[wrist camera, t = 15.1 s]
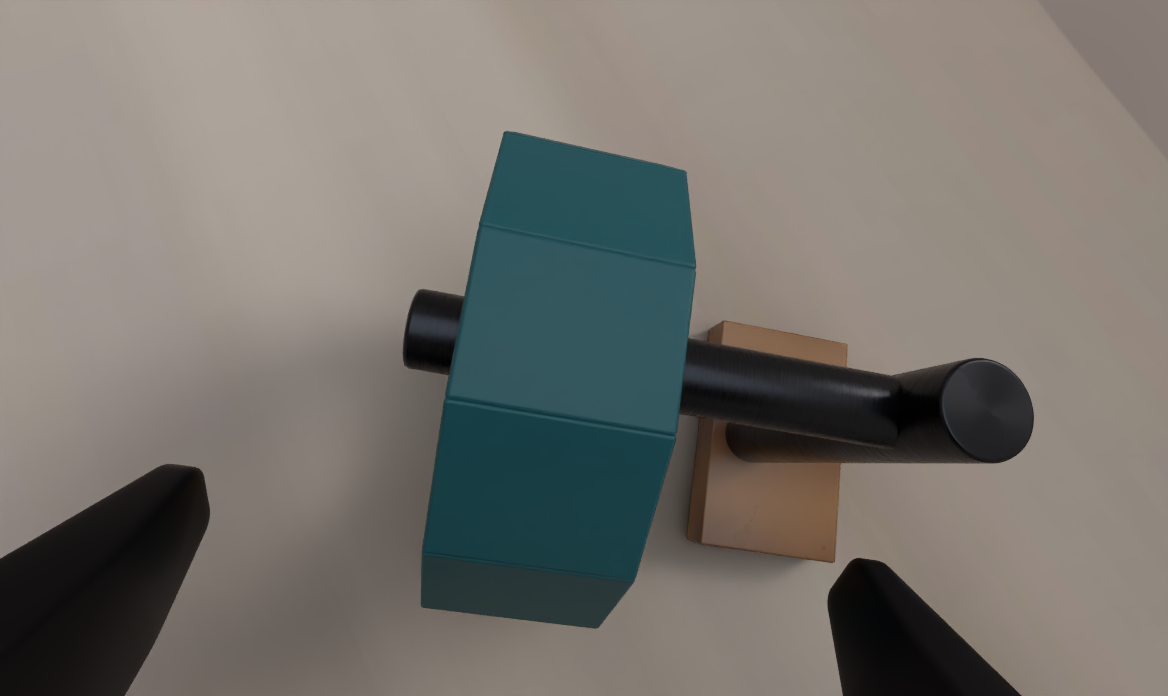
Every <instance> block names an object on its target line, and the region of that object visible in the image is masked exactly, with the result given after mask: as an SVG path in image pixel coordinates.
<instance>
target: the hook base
mask: <svg viewBox="0 0 1168 696" xmlns="http://www.w3.org/2000/svg"><path fill="white" fill-rule="evenodd" d="M708 342H712V343H718V344H723V345H728V346H734V347H739V348H745V349H750V350H755V351H761V352H766V353H772V354H777V355H782V356H788V357H793V358H799V359H804V360H809V361H815V362H820V363H826V364H831V365H836V366H842V367H846V363H847V344H845V343H839V342H834V341H829V340H824V339H818V338H813V337H808V336H803V335H797V334H792V333H787V332H782V331H776V330H771V329H766V328H761V327H755V326H750V325H745V324H740V323H734V322H729V321H722V322H721V323H719V324H717V325H716V326H714V327H712V328H711V329H710V330H709V338H708ZM726 425H727V422H723V421H717V420H711V419H706V418H700V421H699V430H698V439H697V449H696V458H695V467H694V476H693V485H692V495H691V504H690V513H689V522H688V531H687V539H689V540H691V541H694V542H697V543H699V544H703V545H710V546H717V547H724V548H731V549H738V550H745V551H752V552H759V553H766V554H773V555H780V556H787V557H794V558H801V559H808V560H815V561H822V562H829V563H834V562H835V550H836V533H837V516H838V499H839V482H840V465H841V463H750V462H746V461H743V460H741V459H739V458H738V457H736V456H735V455H734V454H733V452H732V451H731V450H730V448H729V446H728V444H727V441H726V435H725V430H726Z"/></svg>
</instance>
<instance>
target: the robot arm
mask: <svg viewBox="0 0 1168 696" xmlns="http://www.w3.org/2000/svg"><path fill="white" fill-rule="evenodd" d="M209 518H210V507H209V501H208V496H207V490H206V485H205V479H204V475H203V472H202V471H201V470H200V469H199V468H196V467H191V466H184V465H176V464H165V465H162V466H159V467H157V468H156V469H154V470H152V471H150V472H149V473H147V474H145V475H144V476H142V477H140V478H138V479H137V480H135V481H133V482H132V483H130V484H128V485H126V486H125V487H123V488H121V489H119V490H118V491H116V492H114V493H113V494H111V495H109V496H107V497H106V498H104V499H102V500H101V501H99V502H97V503H95V504H94V505H92V506H90V507H88V508H87V509H85V510H83V511H82V512H80V513H78V514H76V515H75V516H73V517H71V518H70V519H68V520H66V521H64V522H63V523H61V524H59V525H57V526H56V527H54V528H52V529H51V530H49V531H47V532H45V533H44V534H42V535H40V536H39V537H37V538H35V539H33V540H32V541H30V542H28V543H27V544H25V545H23V546H21V547H20V548H18V549H16V550H14V551H13V552H11V553H9V554H8V555H6V556H4V557H2V558H1V559H0V696H125V694H126V692H127V691H128V689H129V687H130V685H131V684H132V682H133V680H134V679H135V677H136V675H137V673H138V672H139V670H140V668H141V667H142V665H143V663H144V661H145V659H146V658H147V656H148V654H149V652H150V650H151V649H152V647H153V645H154V643H155V641H156V639H157V637H158V635H159V633H160V631H161V628H162V626H163V624H164V622H165V620H166V618H167V615H168V613H169V611H170V609H171V607H172V604H173V602H174V600H175V598H176V595H177V593H178V591H179V589H180V587H181V584H182V582H183V580H184V578H185V576H186V573H187V571H188V569H189V567H190V564H191V562H192V560H193V558H194V556H195V553H196V551H197V549H198V547H199V544H200V542H201V540H202V538H203V536H204V533H205V531H206V529H207V526H208V523H209ZM828 612H829V618H830V624H831V630H832V635H833V641H834V647H835V652H836V658H837V664H838V670H839V675H840V681H841V687H842V692H843V696H1021V695H1020V694H1019V693H1018V692H1017V691H1016V690H1015V689H1014V688H1013V687H1012V686H1011V685H1010V684H1009V683H1008V682H1007V681H1006V680H1005V679H1004V678H1003V677H1002V676H1001V675H1000V674H999V673H998V672H997V671H996V670H995V669H993V668H992V667H991V666H990V665H989V664H988V663H987V662H986V661H985V660H984V659H983V658H982V657H981V656H980V655H979V654H978V653H977V652H976V651H975V650H974V649H973V648H972V647H971V646H970V645H969V644H968V643H967V642H966V641H965V640H964V639H963V638H962V637H961V636H959V635H958V634H957V633H956V632H955V631H954V630H953V629H952V628H951V627H950V626H949V625H948V624H947V623H946V622H945V621H944V620H943V619H942V618H941V617H940V616H939V615H938V614H937V613H936V612H935V611H934V610H933V609H932V608H931V607H930V606H929V605H928V604H927V603H925V602H924V601H923V600H922V599H921V598H920V597H919V596H918V595H917V594H916V593H915V592H914V591H913V590H912V589H911V588H910V587H909V586H908V585H907V584H906V583H905V582H904V581H903V580H902V579H901V578H900V577H899V576H898V575H897V574H896V573H895V572H894V571H893V570H891V569H890V568H889V567H888V566H887V565H886V564H884V563H883V562H880V561H876V560H869V559H862V558H856V559H853V560H852V561H850V563H849V564H848V565H847V567H846V568H845V569H844V571H843V572H842V574H841V575H840V576H839V578H838V579H837V581H836V582H835V583H834V585H833V586H832V588H831V589H830V591H829V594H828Z"/></svg>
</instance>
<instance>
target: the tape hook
mask: <svg viewBox="0 0 1168 696" xmlns="http://www.w3.org/2000/svg"><path fill="white" fill-rule="evenodd" d="M463 302H464V296H459V295H454V294H448V293H443V292H437V291H432V290H427V289H421V290H418V291H417V293H416V294H415V296H414V298H413V301H412V303H411V306H410V310H409V314H408V318H407V322H406V328H405V334H404V342H403V361H404V365H405V366H406V367H408V368H410V369H416V370H421V371H427V372H433V373H439V374H445V375H449V372H450V367H451V362H452V357H453V352H454V347H455V342H456V337H457V332H458V327H459V322H460V317H461V312H462V307H463ZM679 414H682V415H688V416H694V417H700V418H706V419H711V420H717V421H723V422H727V425H726V430H725V435H726V441H727V444H728V446H729V448H730V450H731V451H732V452H733V454H734V455H735V456H736V457H738V458H739V459H741V460H743V461H746V462H750V463H1000V462H1004V461H1007V460H1009V459H1011V458H1013V457H1014V456H1016V455H1017V454H1019V453H1020V452H1021V451H1022V450H1023V449H1024V447H1025V446H1026V444H1027V443H1028V441H1029V439H1030V437H1031V433H1032V430H1033V423H1034V414H1033V407H1032V402H1031V399H1030V396H1029V394H1028V392H1027V390H1026V388H1025V386H1024V385H1023V383H1022V382H1021V380H1020V379H1019V378H1018V377H1017V376H1016V375H1015V374H1014V373H1013V372H1012V371H1011V370H1010V369H1008V368H1007V367H1006V366H1004V365H1002V364H1000V363H998V362H996V361H993V360H989V359H984V358H972V359H966V360H962V361H957V362H952V363H948V364H943V365H938V366H934V367H929V368H924V369H920V370H915V371H910V372H906V373H901V374H896V375H892V376H890V375H885V374H879V373H874V372H869V371H863V370H858V369H852V368H847V367H842V366H836V365H831V364H826V363H820V362H815V361H809V360H804V359H799V358H793V357H788V356H782V355H777V354H772V353H766V352H761V351H755V350H750V349H745V348H739V347H734V346H728V345H723V344H718V343H712V342H707V341H702V340H696V339H691V338H688V343H687V352H686V360H685V368H684V377H683V385H682V393H681V402H680V410H679Z"/></svg>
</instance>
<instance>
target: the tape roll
mask: <svg viewBox="0 0 1168 696" xmlns="http://www.w3.org/2000/svg"><path fill="white" fill-rule="evenodd" d="M695 269H696V260H695V251H694V241H693V231H692V222H691V212H690V203H689V193H688V184H687V172H686V171H684V170H680V169H676V168H673V167H669V166H665V165H661V164H657V163H652V162H648V161H643V160H639V159H634V158H630V157H625V156H621V155H616V154H612V153H607V152H603V151H598V150H594V149H589V148H585V147H580V146H576V145H571V144H567V143H562V142H558V141H553V140H549V139H544V138H540V137H535V136H531V135H526V134H522V133H517V132H509V131H506V132H504V133H503V137H502V141H501V145H500V148H499V152H498V156H497V159H496V163H495V167H494V171H493V174H492V178H491V182H490V185H489V189H488V193H487V196H486V200H485V204H484V207H483V211H482V215H481V218H480V222H479V229H478V231H477V236H476V241H475V246H474V251H473V256H472V261H471V266H470V271H469V276H468V281H467V286H466V291H465V296H464V302H463V307H462V312H461V317H460V322H459V327H458V332H457V337H456V342H455V347H454V352H453V357H452V362H451V367H450V372H449V377H448V382H447V387H446V392H445V395H446V397H445V399H444V403H443V410H442V417H441V424H440V430H439V437H438V444H437V451H436V458H435V464H434V471H433V478H432V485H431V492H430V498H429V505H428V512H427V519H426V525H425V532H424V539H423V546H422V564H421V607H423V608H430V609H438V610H447V611H455V612H463V613H471V614H480V615H488V616H496V617H504V618H512V619H521V620H529V621H537V622H545V623H553V624H562V625H570V626H578V627H586V628H595V629H596V628H599V626H600V625H601V624H602V622H603V621H604V620H605V619H606V617H607V616H608V615H609V614H610V612H611V611H612V610H613V608H614V607H615V606H616V605H617V603H618V602H619V601H620V599H621V598H622V597H623V596H624V594H625V593H626V592H627V590H628V589H629V588H630V587H631V585H632V584H633V583H634V581H635V578H636V575H637V571H638V568H639V565H640V561H641V558H642V554H643V551H644V547H645V544H646V540H647V537H648V533H649V530H650V527H651V523H652V520H653V516H654V513H655V509H656V506H657V502H658V499H659V495H660V492H661V489H662V485H663V482H664V478H665V475H666V471H667V468H668V464H669V461H670V458H671V454H672V451H673V447H674V444H675V440H676V437H675V434H676V433H677V427H678V418H679V410H680V402H681V393H682V385H683V377H684V368H685V360H686V352H687V343H688V335H689V326H690V318H691V310H692V301H693V293H694V285H695V276H696V272H695Z"/></svg>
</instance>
